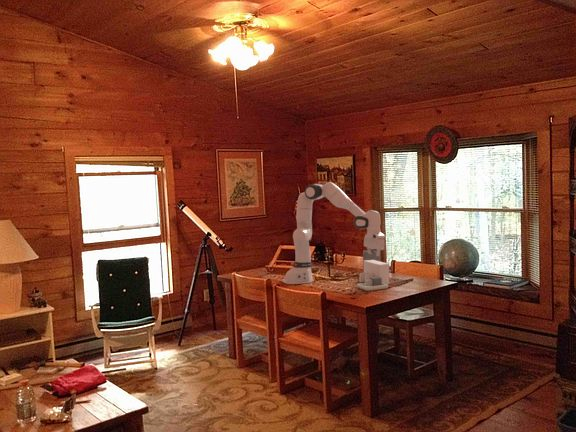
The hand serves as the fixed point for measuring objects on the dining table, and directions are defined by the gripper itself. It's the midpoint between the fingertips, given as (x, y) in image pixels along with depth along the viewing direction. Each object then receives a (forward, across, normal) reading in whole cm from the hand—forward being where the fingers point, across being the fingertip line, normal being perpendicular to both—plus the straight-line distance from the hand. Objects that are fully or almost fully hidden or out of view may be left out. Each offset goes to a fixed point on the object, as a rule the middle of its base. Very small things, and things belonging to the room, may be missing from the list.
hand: (373, 254), depth 367 cm
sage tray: (+22, +3, -2) cm, 22 cm away
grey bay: (+22, -13, +7) cm, 27 cm away
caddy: (+21, +3, -2) cm, 21 cm away
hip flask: (+22, -38, +23) cm, 49 cm away
